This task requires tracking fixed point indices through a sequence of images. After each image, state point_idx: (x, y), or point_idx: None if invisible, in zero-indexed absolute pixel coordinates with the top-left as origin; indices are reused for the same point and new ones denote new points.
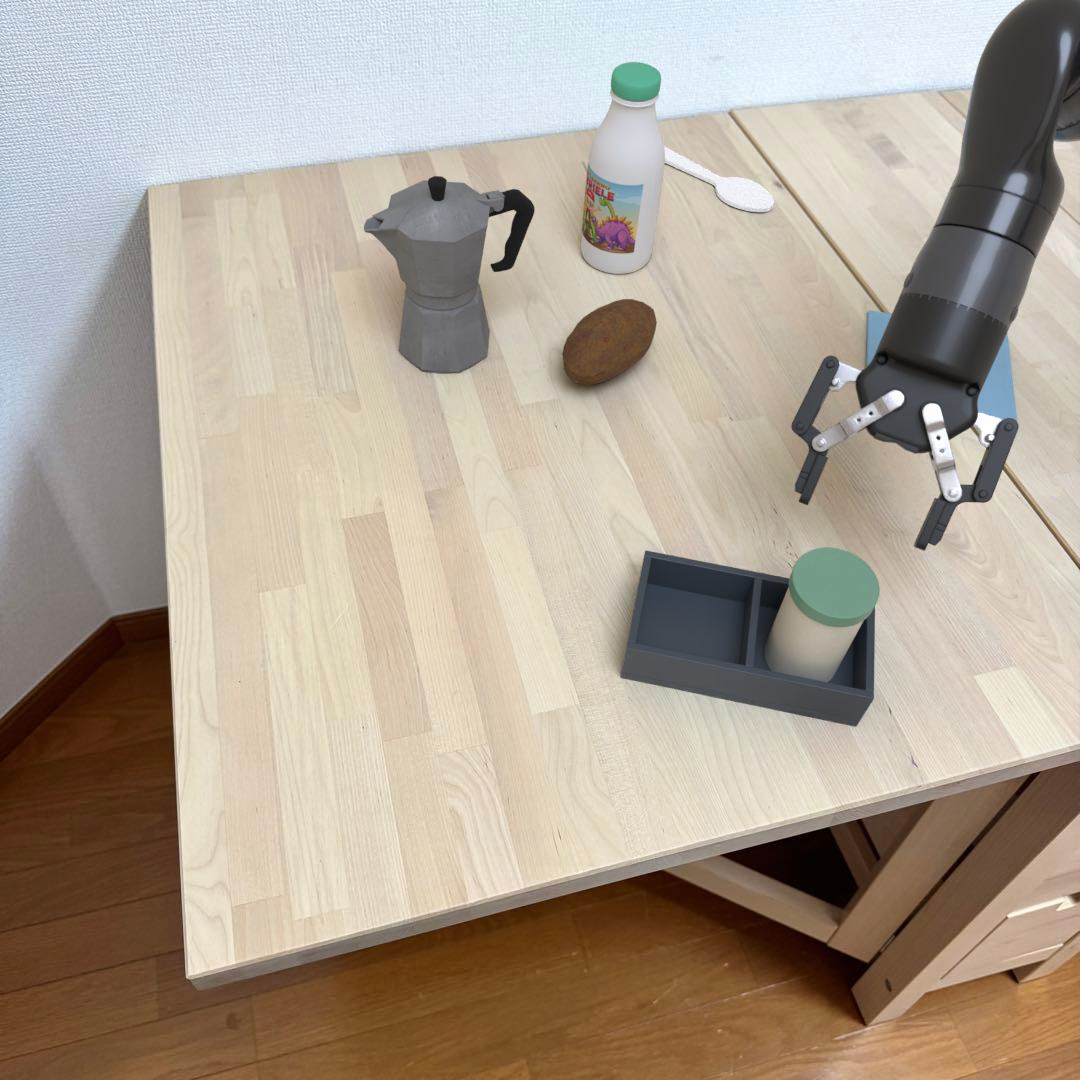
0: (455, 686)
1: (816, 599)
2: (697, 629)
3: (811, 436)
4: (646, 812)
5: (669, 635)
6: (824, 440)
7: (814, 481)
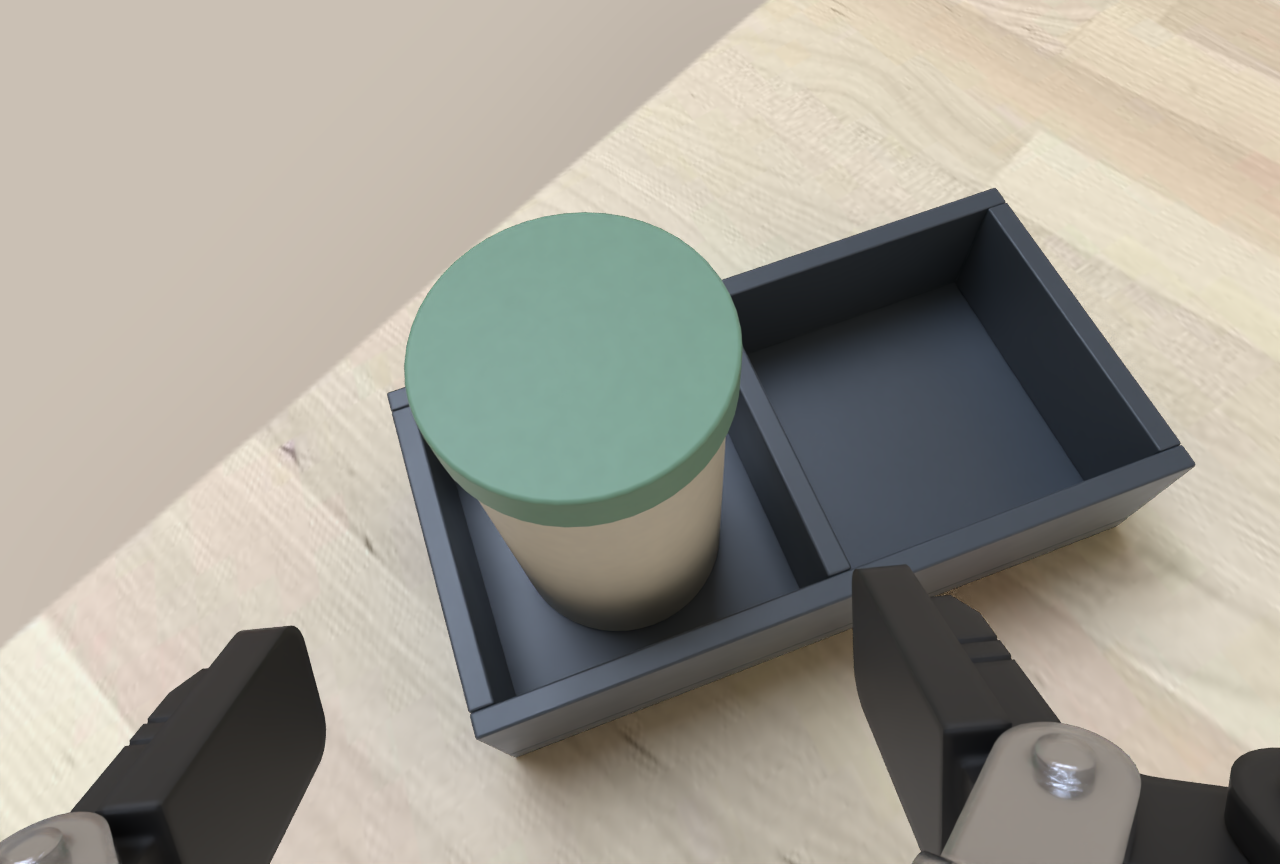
0: (1205, 97)
1: (605, 242)
2: (890, 454)
3: (1163, 824)
4: (735, 103)
5: (936, 401)
6: (1060, 786)
7: (902, 624)
